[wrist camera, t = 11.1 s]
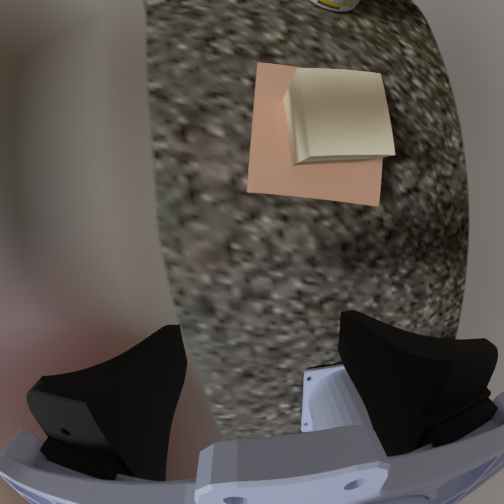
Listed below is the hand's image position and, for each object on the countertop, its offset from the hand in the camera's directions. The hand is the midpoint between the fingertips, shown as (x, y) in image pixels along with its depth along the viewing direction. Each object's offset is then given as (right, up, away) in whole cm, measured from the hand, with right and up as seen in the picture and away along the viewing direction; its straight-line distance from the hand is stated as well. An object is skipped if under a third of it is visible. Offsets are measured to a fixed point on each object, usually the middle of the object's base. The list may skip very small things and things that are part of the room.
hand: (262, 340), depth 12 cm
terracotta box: (+4, +12, +8) cm, 16 cm away
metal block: (+4, +12, +4) cm, 13 cm away
